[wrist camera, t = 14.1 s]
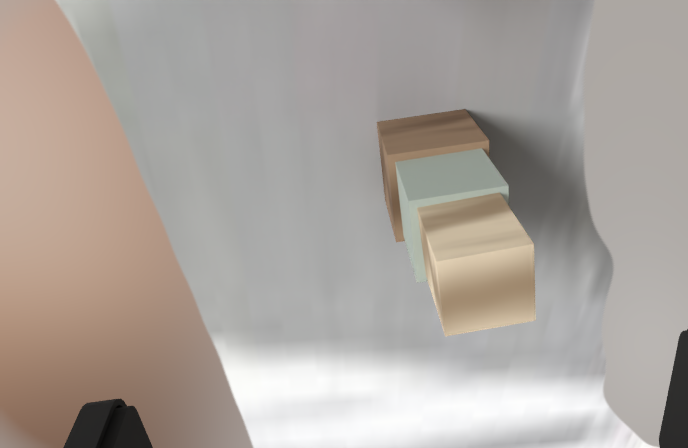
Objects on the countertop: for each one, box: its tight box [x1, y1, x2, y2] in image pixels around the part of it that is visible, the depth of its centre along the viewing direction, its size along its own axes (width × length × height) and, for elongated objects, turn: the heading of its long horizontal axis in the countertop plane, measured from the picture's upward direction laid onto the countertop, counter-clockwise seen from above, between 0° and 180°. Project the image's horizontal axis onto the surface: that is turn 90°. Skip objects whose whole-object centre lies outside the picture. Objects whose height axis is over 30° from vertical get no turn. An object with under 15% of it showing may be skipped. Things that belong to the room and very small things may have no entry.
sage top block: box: [395, 148, 509, 283], centre depth 38 cm, size 6×6×6 cm
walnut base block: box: [377, 109, 489, 242], centre depth 44 cm, size 7×7×7 cm
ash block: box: [417, 192, 536, 336], centre depth 33 cm, size 5×5×6 cm
